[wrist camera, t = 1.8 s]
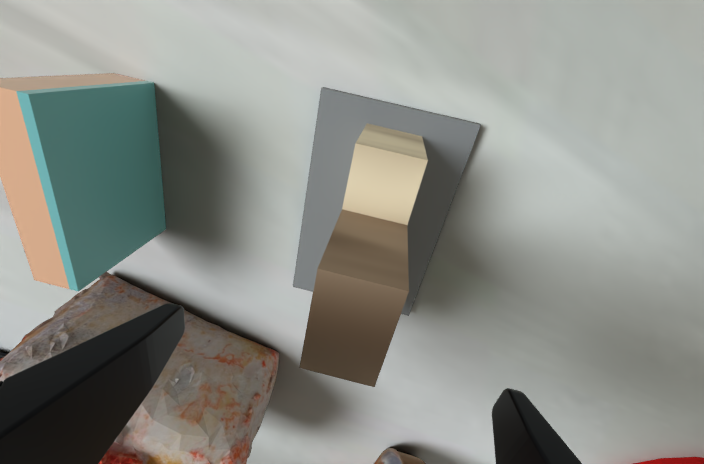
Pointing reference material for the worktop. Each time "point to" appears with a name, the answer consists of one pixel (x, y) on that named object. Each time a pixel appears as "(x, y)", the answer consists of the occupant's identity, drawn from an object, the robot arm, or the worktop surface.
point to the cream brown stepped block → (366, 259)
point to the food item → (168, 379)
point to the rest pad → (334, 167)
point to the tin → (397, 458)
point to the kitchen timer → (675, 461)
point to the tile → (81, 171)
